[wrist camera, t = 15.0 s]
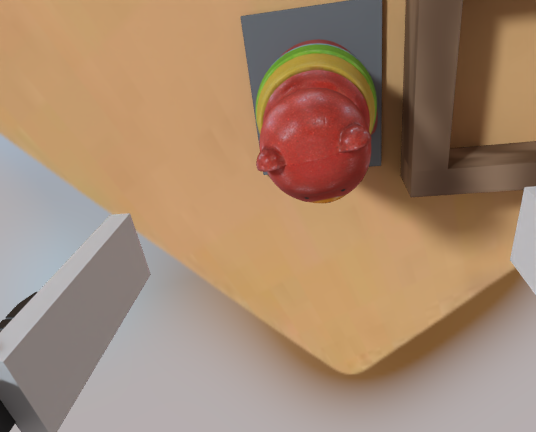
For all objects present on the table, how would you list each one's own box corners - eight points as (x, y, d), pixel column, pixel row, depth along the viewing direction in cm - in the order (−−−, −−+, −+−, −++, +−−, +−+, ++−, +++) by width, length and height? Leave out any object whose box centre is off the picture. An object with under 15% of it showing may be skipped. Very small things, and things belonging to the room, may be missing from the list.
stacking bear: (269, 154, 40) (240, 252, 25) (248, 49, 36) (195, 89, 20) (378, 138, 38) (420, 233, 23) (370, 24, 34) (417, 46, 18)
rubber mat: (264, 173, 42) (263, 174, 41) (241, 16, 35) (240, 16, 34) (380, 163, 40) (381, 165, 39) (381, -5, 33) (382, -5, 32)
